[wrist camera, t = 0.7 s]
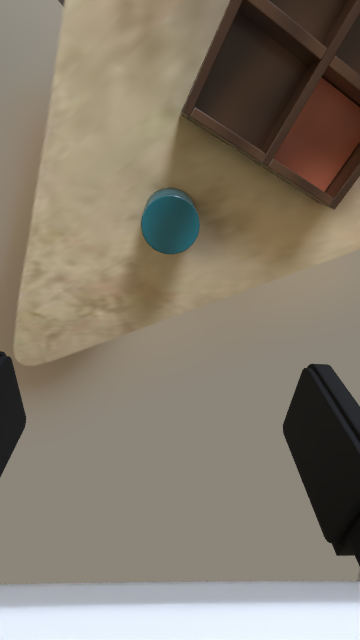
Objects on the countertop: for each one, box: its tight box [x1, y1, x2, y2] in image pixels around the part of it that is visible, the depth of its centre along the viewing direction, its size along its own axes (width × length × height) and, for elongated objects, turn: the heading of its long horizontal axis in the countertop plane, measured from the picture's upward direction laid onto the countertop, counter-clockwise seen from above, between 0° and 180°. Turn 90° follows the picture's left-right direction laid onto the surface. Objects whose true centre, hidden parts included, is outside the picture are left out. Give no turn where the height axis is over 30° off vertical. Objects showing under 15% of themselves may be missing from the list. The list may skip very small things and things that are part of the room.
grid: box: [181, 0, 360, 209], centre depth 20 cm, size 13×13×2 cm
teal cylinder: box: [141, 188, 200, 254], centre depth 24 cm, size 4×4×4 cm
